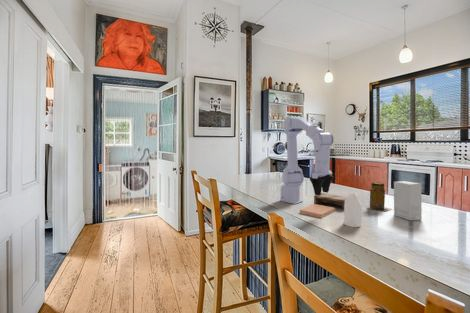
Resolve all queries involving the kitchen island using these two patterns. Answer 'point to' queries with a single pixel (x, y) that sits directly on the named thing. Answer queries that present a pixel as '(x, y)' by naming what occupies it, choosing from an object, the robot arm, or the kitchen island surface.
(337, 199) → the shelf
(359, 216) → the white pointed crystal
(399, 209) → the skincare box
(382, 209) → the condiment
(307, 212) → the tile
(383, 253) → the kitchen island surface
